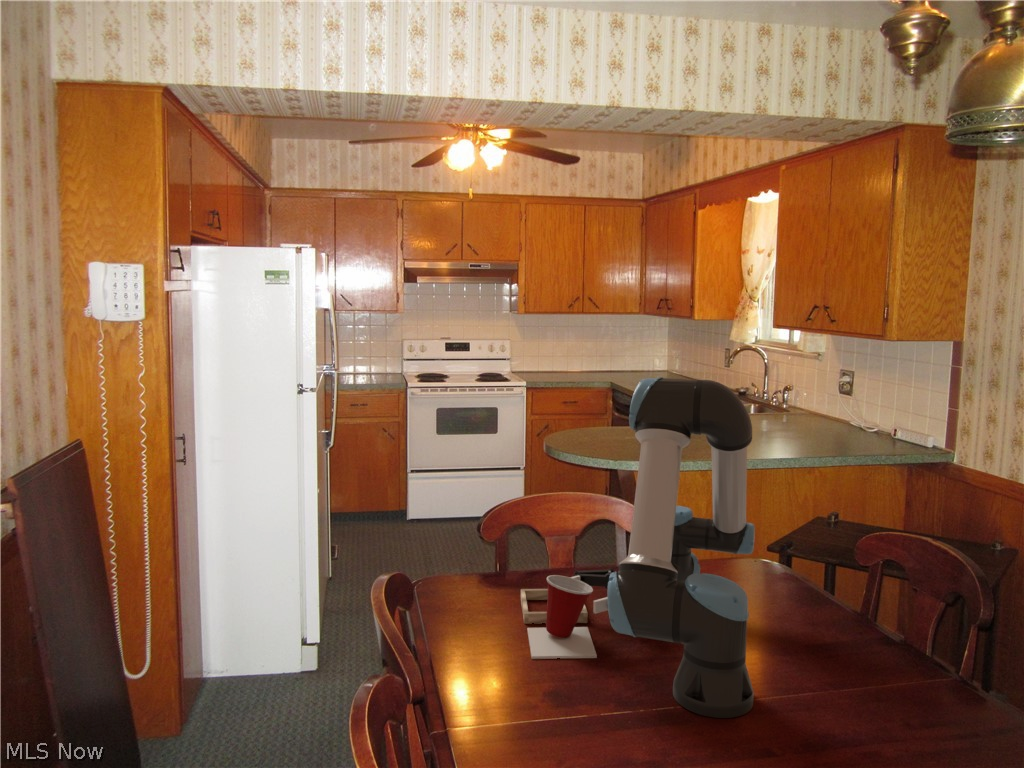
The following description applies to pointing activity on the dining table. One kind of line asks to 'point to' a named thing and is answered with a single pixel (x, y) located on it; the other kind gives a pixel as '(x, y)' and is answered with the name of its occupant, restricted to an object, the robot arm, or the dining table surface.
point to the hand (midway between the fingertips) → (575, 596)
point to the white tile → (561, 644)
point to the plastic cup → (565, 604)
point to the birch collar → (541, 616)
